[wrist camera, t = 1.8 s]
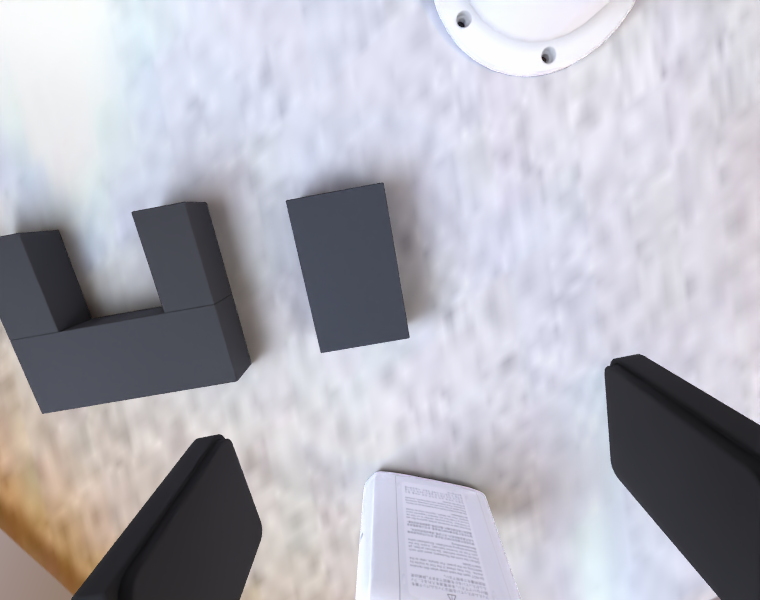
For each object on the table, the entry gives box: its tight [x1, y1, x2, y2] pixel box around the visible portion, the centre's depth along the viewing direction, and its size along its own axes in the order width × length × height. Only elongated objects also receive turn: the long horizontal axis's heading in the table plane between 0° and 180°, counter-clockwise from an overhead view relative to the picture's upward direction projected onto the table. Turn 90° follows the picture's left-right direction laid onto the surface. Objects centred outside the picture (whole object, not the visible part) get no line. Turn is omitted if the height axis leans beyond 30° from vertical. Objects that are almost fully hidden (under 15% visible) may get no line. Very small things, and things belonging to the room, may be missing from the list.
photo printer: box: [356, 471, 522, 600], centre depth 25 cm, size 10×4×12 cm, turn 78°
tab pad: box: [286, 183, 409, 353], centre depth 25 cm, size 10×6×3 cm, turn 10°
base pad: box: [0, 202, 251, 414], centre depth 26 cm, size 12×14×3 cm
